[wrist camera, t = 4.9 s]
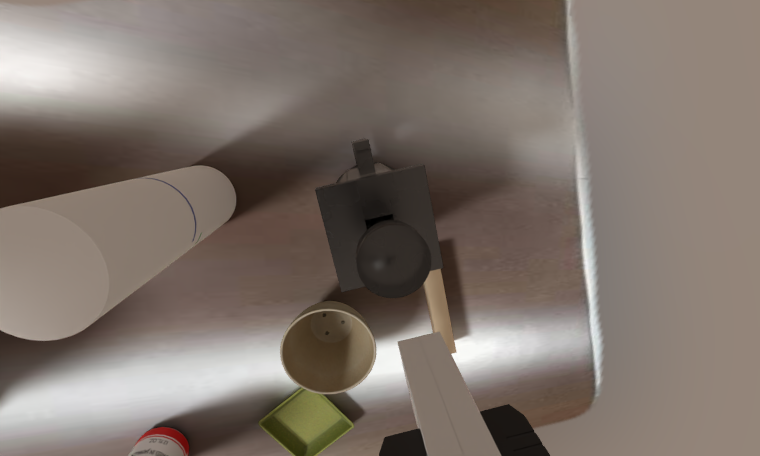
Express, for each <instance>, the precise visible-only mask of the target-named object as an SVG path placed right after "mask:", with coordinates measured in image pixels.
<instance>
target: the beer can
mask: <svg viewBox="0 0 760 456" xmlns="http://www.w3.org/2000/svg"><path fill="white" fill-rule="evenodd" d="M188 455H189V444H188V441H187V439H186V438H185V437H184V435H183V434H182V433H181V432H179V431H178V430H176V429H173V428H170V427H159V428H154V429H151V430H149V431H147V432H146V433H145V434H144V435H143V436H142V437H141V438H140V439H139V440H138V441H137V443H136V444H135V446H134V448H133V449H132V451H131V452H130V454H129V455H128V456H188Z"/></svg>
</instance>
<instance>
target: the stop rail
mask: <svg viewBox="0 0 760 456" xmlns="http://www.w3.org/2000/svg"><path fill="white" fill-rule="evenodd" d="M423 285H424V290H425V295H426V300H427V305H428V310H429V315H430V320H431V325H432V330H433V333H435V332H439V331H440V333H441V335H442V337H443V339H444V341H445V343H446V345H447V347H448V349H449V351H450V353H451V354H452V353H456V348H455V343H454V337H453V332H452V327H451V322H450V316H449V311H448V306H447V300H446V295H445V290H444V284H443V279H442V274H441V269H437V270H433V271H430V273H429V275H428V277H427V279H426V281H425V282H424V283H423Z"/></svg>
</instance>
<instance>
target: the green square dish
mask: <svg viewBox="0 0 760 456" xmlns="http://www.w3.org/2000/svg"><path fill="white" fill-rule="evenodd" d="M258 424H259V426H260V427H261V428H262V429H263V430H264V431H265V432H267V433H268V434H269V435H270V436H271V437H272V438H274V439H275V440H276V441H277V442H278V443H279V444H280V445H282V446H283V447H284V448H285V449H286V450H287V451H288V452H289V453H290V454H291V455H293V456H317V455H318V454H320V453H321V452H322V451H323V450H325V449H326V448H327V447H329V446H330V445H331V444H333V443H334V442H335V441H336V440H338V439H339V438H341V437H342V436H343V435H345V434H346V433H347V432H348V431H350V430H351V429H352V428H353V427H354V424H353V423H352V422H351V421H350V420H349V419H348V418H347V417H346V416H345V415H344V414H343V413H342V412H341V411H340V410H339V409H338V408H337V407H336V406H335V405H334V404H333V403H332V402H331V401H330V400H329V399H328V398H327V397H326V396H325V395H324V394H318V393H314V392H311V391H308V390H306V389H304V388H300V389H299V390H298V391H297V392H295V393H294V394H293V395H291V396H290V397H289V398H288V399H286V400H285V401H284V402H283V403H281V404H280V405H279V406H277V407H276V408H275V409H274V410H272V411H271V412H270V413H269V414H267V415H266V416H265V417H264V418H262V419H261V420H260V421H259V422H258Z"/></svg>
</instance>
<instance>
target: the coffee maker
mask: <svg viewBox="0 0 760 456" xmlns="http://www.w3.org/2000/svg"><path fill="white" fill-rule="evenodd" d="M352 146H353V151H354V155H355V159H356V164H357V166H355V167H353V168H351V169H349V170H347V171H346V172H345V173H344V174H343V175H342V176H341V177H340V178H339V179H338V181H337V182H336V183H335V184H330V185H326V186H321V187H317V188H316V189H315V191H316V195H317V199H318V203H319V207H320V211H321V215H322V218H323V222H324V226H325V230H326V234H327V238H328V242H329V246H330V249H331V253H332V257H333V261H334V265H335V269H336V273H337V277H338V281H339V284H340V288H341V292H344V291H348V290H353V289H357V288H361V287H365V285H364V284H363V282H362V281H361V279H360V277H359V274H358V271H357V264H356V249H357V245H358V242H359V240H360V238H361V236H362V235H363V234H364V233H365V232H366V230H367V227H366V223H365V220H368V219H372V218H376V217H381V216H385V215H389V214H392V219H393V220H397V221H402V222H405V223H407V224H409V225H411V226H412V227H414V228H415V229H416V230H417V231H418V232H419V234H420V235H421V236H422V238H423V239H424V240H425V242H426V243H427V245H428V247H429V249H430V253H431V269H430V271H433V270H437V269H441V268H443V263H442V257H441V252H440V246H439V241H438V236H437V230H436V225H435V220H434V214H433V209H432V204H431V198H430V193H429V188H428V182H427V177H426V172H425V166H424V165H423V164H418V165H414V166H409V167H405V168H401V169H396V170H395V169H393V168H391V167H389V166H387V165H384V164H382V163H381V164H380V163H373V158H372V153H371V149H370V144H369V140H368V139H361V140H356V141H352Z"/></svg>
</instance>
